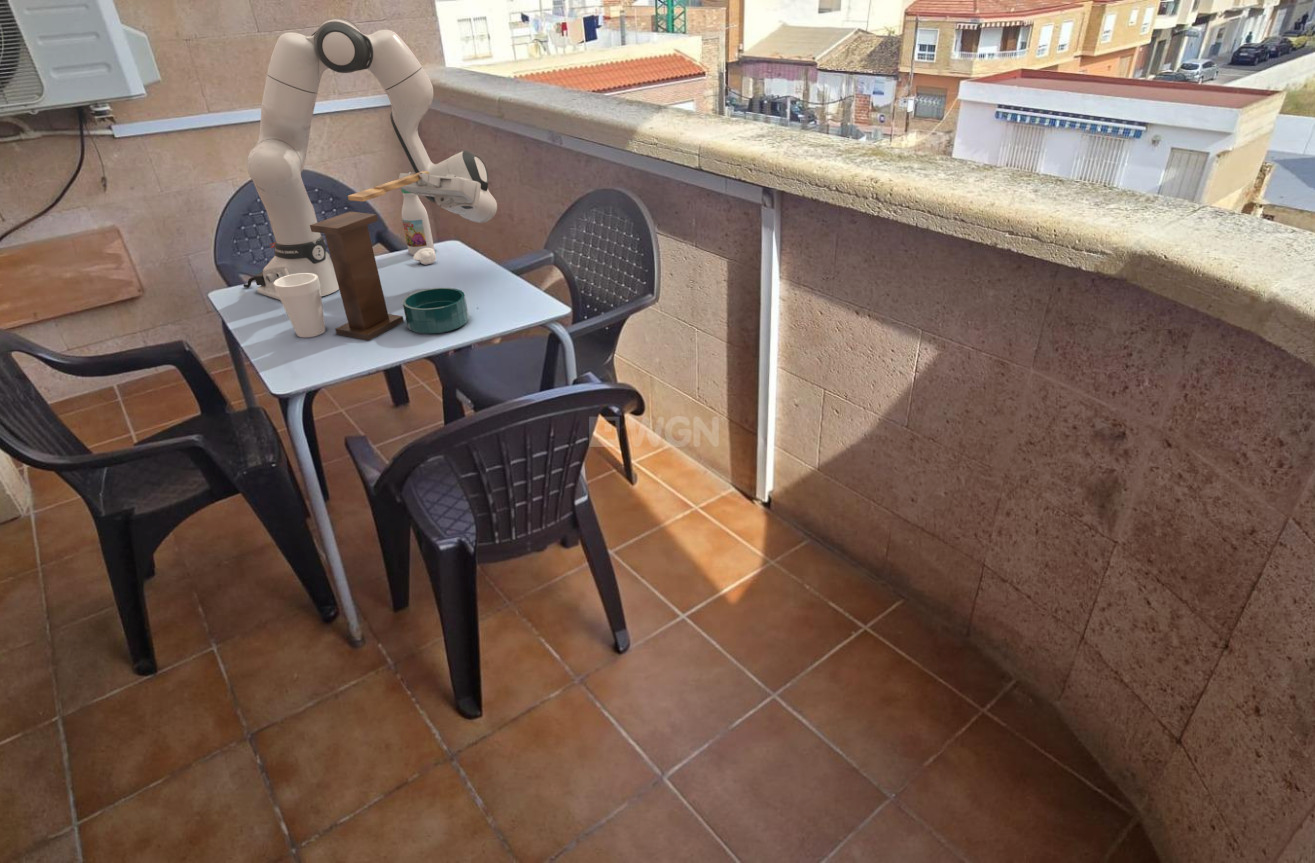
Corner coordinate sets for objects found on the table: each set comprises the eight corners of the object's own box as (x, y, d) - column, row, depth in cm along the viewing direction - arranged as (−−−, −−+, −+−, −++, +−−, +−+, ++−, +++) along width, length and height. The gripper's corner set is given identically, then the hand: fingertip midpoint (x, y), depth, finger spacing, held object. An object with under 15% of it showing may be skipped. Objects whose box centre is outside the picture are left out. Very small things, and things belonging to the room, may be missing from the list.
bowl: (395, 330, 173) (389, 304, 170) (433, 309, 185) (429, 284, 181) (444, 339, 168) (438, 312, 165) (480, 316, 180) (476, 291, 176)
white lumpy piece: (439, 260, 220) (438, 248, 217) (433, 269, 216) (432, 257, 213) (417, 256, 220) (415, 244, 217) (410, 264, 216) (409, 252, 213)
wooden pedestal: (336, 334, 172) (306, 224, 159) (372, 316, 182) (346, 211, 168) (369, 340, 169) (340, 228, 155) (403, 321, 178) (380, 214, 165)
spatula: (419, 176, 179) (418, 170, 178) (433, 177, 178) (432, 171, 177) (348, 200, 160) (347, 193, 160) (363, 201, 159) (361, 195, 158)
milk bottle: (420, 247, 231) (407, 182, 221) (439, 250, 228) (427, 184, 218) (403, 254, 225) (389, 187, 215) (423, 257, 222) (409, 189, 212)
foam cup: (316, 341, 169) (301, 287, 163) (281, 338, 171) (264, 285, 164) (339, 325, 177) (325, 273, 171) (306, 323, 179) (290, 272, 172)
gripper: (421, 178, 191) (384, 160, 178) (486, 183, 184) (451, 164, 171) (417, 202, 192) (380, 186, 179) (482, 208, 184) (447, 191, 171)
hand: (415, 175), depth 175 cm, fingers closed on spatula
